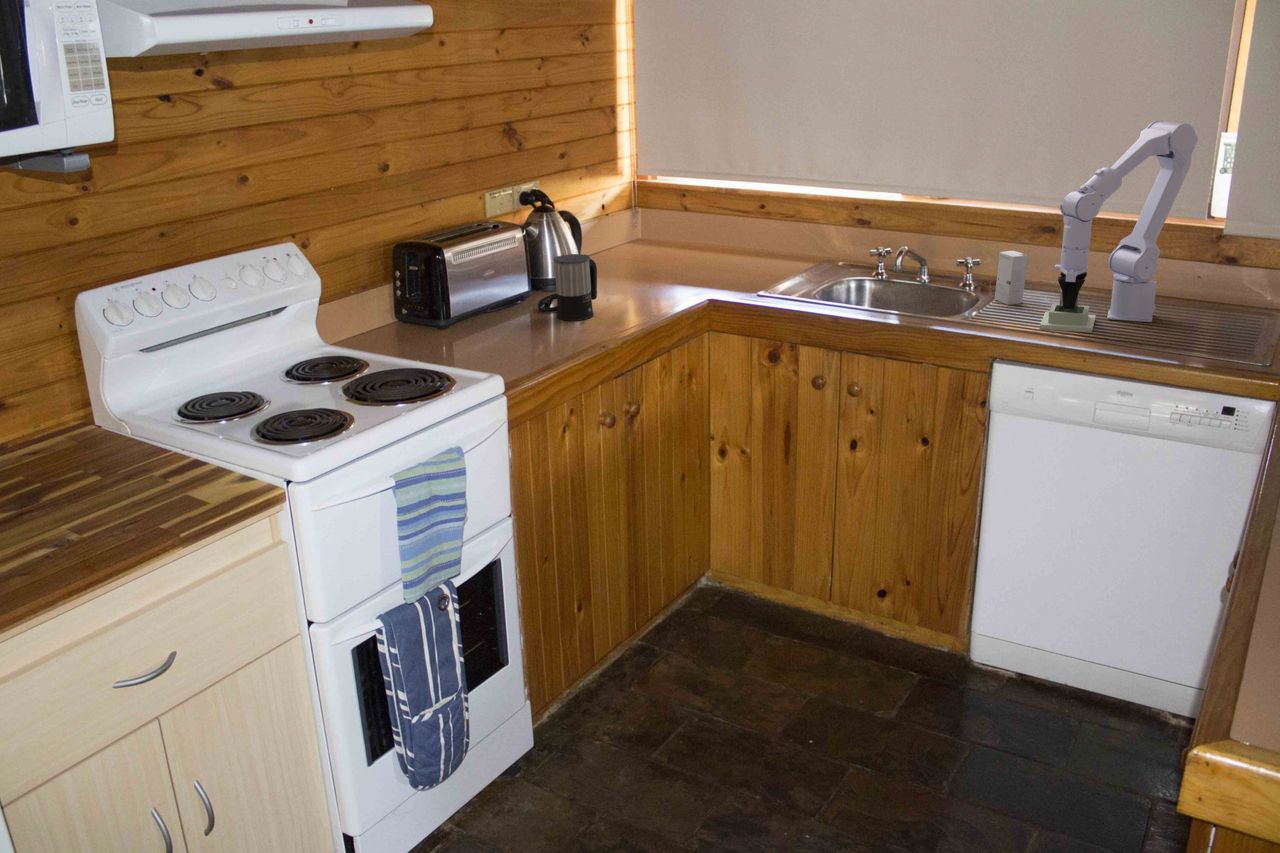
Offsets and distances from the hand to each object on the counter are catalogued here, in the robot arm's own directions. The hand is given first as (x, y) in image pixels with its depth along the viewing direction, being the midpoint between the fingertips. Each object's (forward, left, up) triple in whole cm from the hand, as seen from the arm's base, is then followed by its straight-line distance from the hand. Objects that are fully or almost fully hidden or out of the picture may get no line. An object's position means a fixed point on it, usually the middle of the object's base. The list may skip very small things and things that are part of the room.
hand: (1069, 306), depth 257 cm
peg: (0, 0, -2) cm, 2 cm away
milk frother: (+117, +25, -4) cm, 119 cm away
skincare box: (+15, -17, -4) cm, 23 cm away
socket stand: (0, 0, -4) cm, 4 cm away
